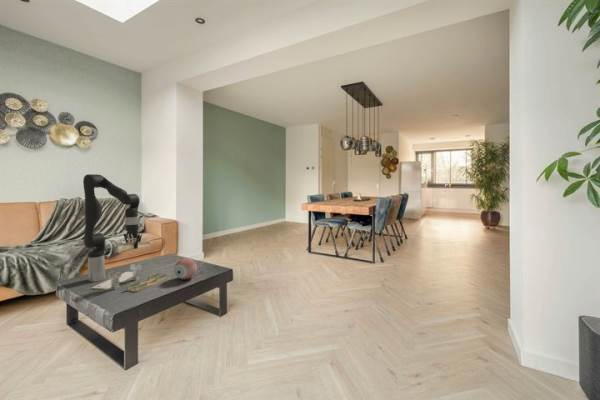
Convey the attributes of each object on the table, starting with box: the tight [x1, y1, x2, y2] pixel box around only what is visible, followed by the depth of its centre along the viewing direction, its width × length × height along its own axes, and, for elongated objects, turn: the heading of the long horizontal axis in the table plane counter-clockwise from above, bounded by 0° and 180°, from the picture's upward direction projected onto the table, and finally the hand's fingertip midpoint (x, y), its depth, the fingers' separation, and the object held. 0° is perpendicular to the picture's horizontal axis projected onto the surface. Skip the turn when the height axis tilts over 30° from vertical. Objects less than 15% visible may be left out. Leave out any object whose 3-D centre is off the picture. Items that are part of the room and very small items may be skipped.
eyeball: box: [173, 257, 198, 280], centre depth 189 cm, size 15×15×15 cm
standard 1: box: [108, 270, 122, 291], centre depth 172 cm, size 6×4×11 cm, turn 76°
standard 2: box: [129, 263, 143, 282], centre depth 187 cm, size 6×4×11 cm, turn 76°
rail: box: [113, 237, 151, 254], centre depth 178 cm, size 4×24×5 cm, turn 165°
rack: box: [125, 272, 168, 293], centre depth 180 cm, size 9×26×3 cm, turn 166°
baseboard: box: [91, 271, 133, 291], centre depth 186 cm, size 31×3×12 cm
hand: (133, 248), depth 178 cm, fingers closed on rail, 3 cm apart
